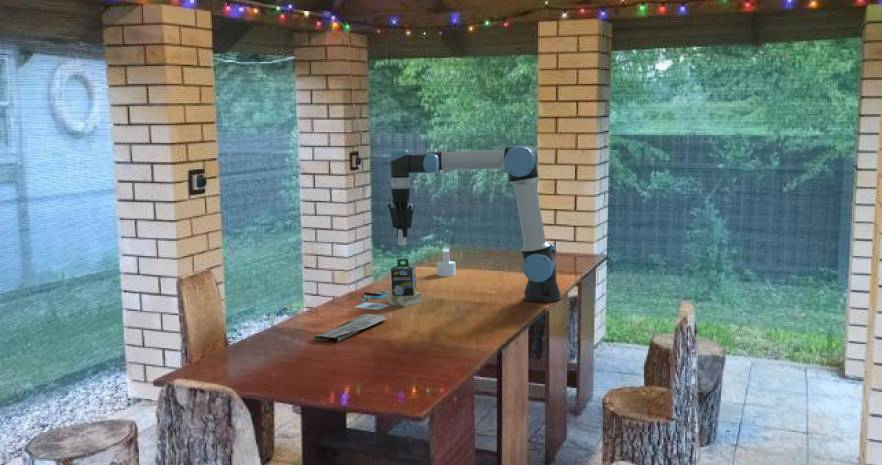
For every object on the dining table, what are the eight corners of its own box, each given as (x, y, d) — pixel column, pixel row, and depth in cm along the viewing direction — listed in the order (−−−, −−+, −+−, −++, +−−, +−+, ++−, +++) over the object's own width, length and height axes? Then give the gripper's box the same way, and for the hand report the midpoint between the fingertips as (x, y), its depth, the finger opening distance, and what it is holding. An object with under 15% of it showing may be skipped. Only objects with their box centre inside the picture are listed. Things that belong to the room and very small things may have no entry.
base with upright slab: (455, 276, 405) (455, 251, 403) (436, 276, 405) (436, 252, 403) (455, 272, 414) (455, 248, 412) (437, 273, 414) (436, 248, 412)
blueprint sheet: (390, 305, 348) (390, 304, 348) (378, 310, 340) (378, 309, 340) (366, 302, 354) (366, 302, 354) (353, 307, 346) (353, 306, 346)
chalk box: (416, 291, 355) (415, 256, 353) (413, 296, 346) (412, 260, 344) (395, 291, 356) (393, 256, 354) (391, 296, 347) (390, 260, 345)
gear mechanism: (351, 301, 360) (369, 303, 355) (351, 289, 359) (369, 291, 354) (377, 292, 377) (395, 293, 372) (377, 280, 376) (395, 281, 371)
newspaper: (361, 319, 329) (361, 310, 328) (390, 321, 323) (389, 312, 323) (311, 342, 297) (310, 332, 296) (342, 345, 292) (341, 336, 291)
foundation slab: (421, 302, 352) (421, 292, 352) (405, 306, 345) (404, 297, 344) (403, 299, 359) (403, 290, 358) (387, 303, 351) (387, 294, 351)
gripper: (382, 187, 346) (384, 244, 350) (406, 189, 338) (408, 247, 341) (394, 186, 352) (396, 242, 355) (419, 187, 343) (421, 245, 347)
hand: (402, 244), depth 348 cm, fingers closed
